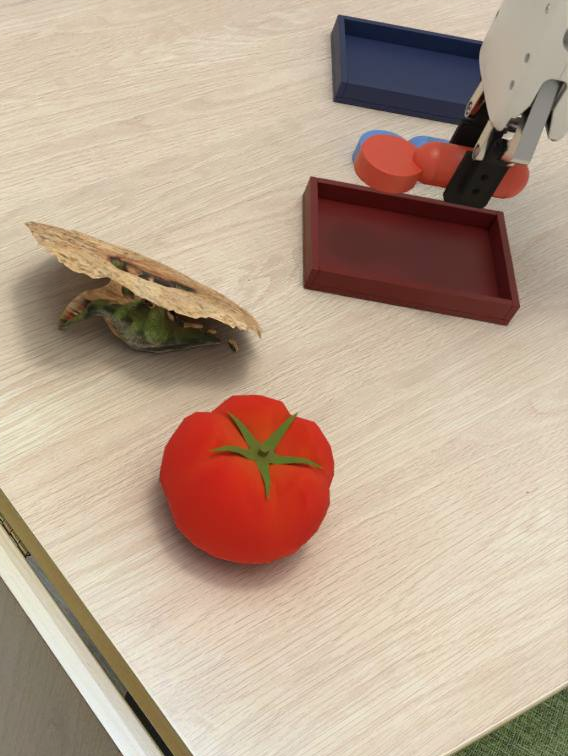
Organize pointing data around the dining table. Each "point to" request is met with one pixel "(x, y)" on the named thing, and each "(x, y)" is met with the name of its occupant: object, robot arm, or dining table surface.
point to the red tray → (407, 251)
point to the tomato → (248, 479)
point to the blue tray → (403, 69)
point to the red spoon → (421, 166)
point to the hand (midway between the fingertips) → (461, 184)
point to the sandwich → (140, 295)
